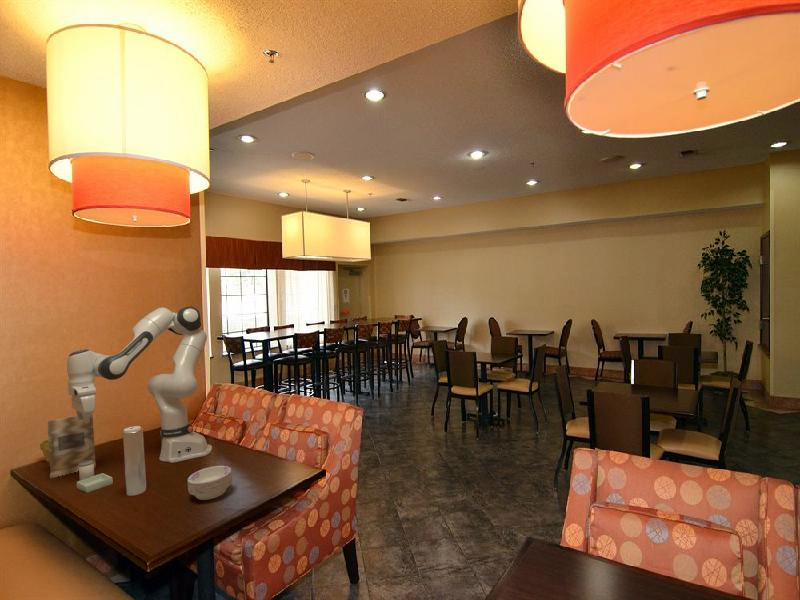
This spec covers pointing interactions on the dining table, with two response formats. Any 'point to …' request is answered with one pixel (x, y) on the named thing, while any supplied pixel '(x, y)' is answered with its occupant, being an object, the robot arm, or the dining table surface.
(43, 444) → the plant pot
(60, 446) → the plate
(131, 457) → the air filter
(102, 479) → the service tray
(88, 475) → the cartridge
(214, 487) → the paper bowls
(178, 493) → the dining table surface
